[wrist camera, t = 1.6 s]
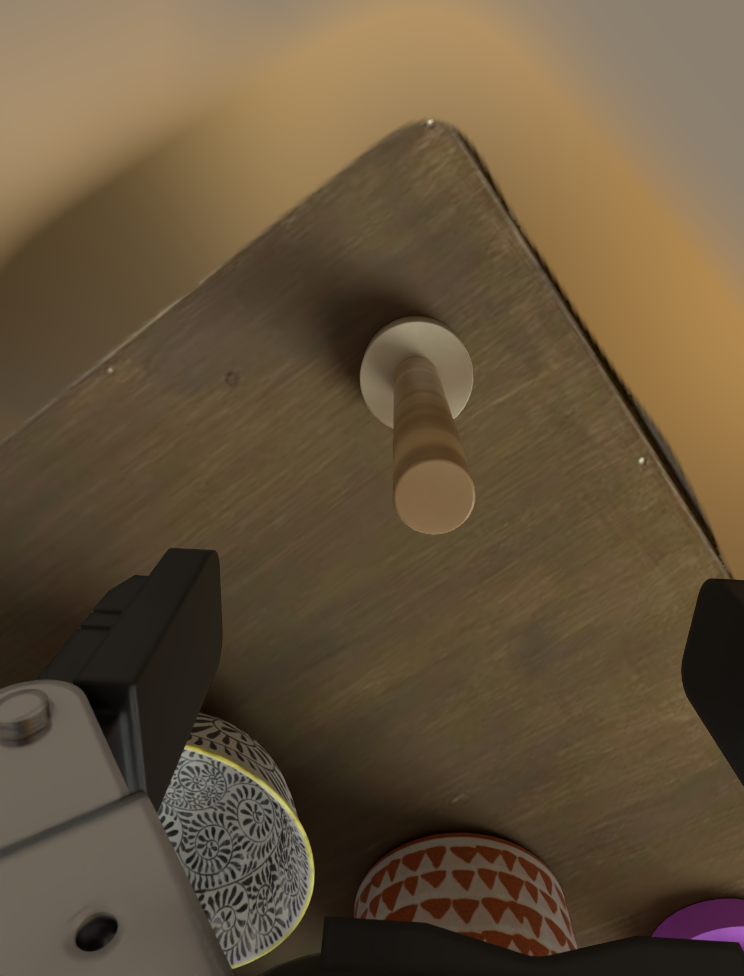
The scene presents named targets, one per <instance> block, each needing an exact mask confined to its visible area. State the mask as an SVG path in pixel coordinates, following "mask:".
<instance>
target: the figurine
mask: <svg viewBox="0 0 744 976" xmlns="http://www.w3.org/2000/svg"><path fill="white" fill-rule="evenodd" d="M651 937H663V938H678V939H694V940H710V941H726V942H739V943H740V945H741V947H742V950H743V952H744V900H743V899H715V900H709V901H704V902H700V903H697V904H694V905H691V906H688V907H686V908H684V909H682V910H680V911H677V912H676V913H674V914H673V915H671V916H670V917H668V918H667V919H666V920H665V921H664V922H663V923H662V924H660V925H659V926H658V927H657V929H656V930H655V932H654V933H653V935H652V936H651Z"/></svg>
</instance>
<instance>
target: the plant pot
mask: <svg viewBox="0 0 744 976" xmlns="http://www.w3.org/2000/svg"><path fill="white" fill-rule="evenodd" d="M354 918H361V919H377V920H393V921H409V922H425V923H429V924H432V925H435V926H438V927H441V928H444V929H448V930H451V931H454V932H457V933H460V934H463V935H466V936H469V937H473V938H476V939H479V940H482V941H485V942H488V943H491V944H494V945H498V946H501V947H504V948H507V949H510V950H513V951H516V952H519V953H523V954H526V955H530V956H548V955H552V954H557V953H561V952H566V951H570V950H575V949H578V948H577V944H576V940H575V936H574V933H573V929H572V925H571V921H570V917H569V913H568V909H567V905H566V901H565V898H564V894H563V891H562V889H561V886H560V884H559V882H558V880H557V879H556V877H555V876H554V874H553V873H552V872H551V870H550V869H549V868H548V867H547V866H546V865H545V864H544V863H543V862H542V861H541V860H540V859H539V858H537V857H536V856H535V855H534V854H532V853H531V852H529V851H527V850H526V849H524V848H522V847H520V846H518V845H516V844H514V843H512V842H509V841H507V840H504V839H501V838H497V837H493V836H489V835H483V834H476V833H443V834H436V835H431V836H426V837H422V838H419V839H416V840H413V841H410V842H408V843H406V844H403V845H401V846H399V847H397V848H396V849H394V850H392V851H391V852H389V853H388V854H386V855H385V856H383V857H382V858H381V859H380V860H379V861H378V862H376V863H375V864H374V865H373V867H372V868H371V869H370V870H369V871H368V873H367V874H366V875H365V877H364V879H363V880H362V882H361V884H360V886H359V889H358V892H357V895H356V900H355V907H354Z"/></svg>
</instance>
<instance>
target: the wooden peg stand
mask: <svg viewBox="0 0 744 976" xmlns="http://www.w3.org/2000/svg"><path fill="white" fill-rule="evenodd" d="M472 386H473V366H472V362H471V359H470V356H469V354H468V352H467V350H466V348H465V346H464V345H463V343H462V341H461V340H460V338H459V337H458V336H457V334H456V333H455V332H454V331H453V330H452V329H450V328H449V327H448V326H447V325H445V324H443V323H442V322H440V321H438V320H435V319H433V318H429V317H423V316H409V317H403V318H400V319H397V320H395V321H392V322H390V323H389V324H387V325H386V326H384V327H383V328H382V329H380V330H379V331H378V332H377V333H376V334H375V335H374V337H373V338H372V339H371V341H370V342H369V344H368V346H367V348H366V351H365V353H364V357H363V361H362V365H361V369H360V387H361V392H362V395H363V398H364V401H365V403H366V405H367V406H368V408H369V410H370V411H371V412H372V414H373V415H374V416H375V417H376V418H377V419H378V420H379V421H381V422H382V423H383V424H385V425H386V426H388V427H390V428H392V429H393V503H394V507H395V510H396V512H397V514H398V516H399V517H400V519H401V520H402V521H403V522H404V523H405V524H406V525H407V526H409V527H410V528H412V529H414V530H416V531H418V532H421V533H425V534H443V533H447V532H449V531H452V530H454V529H456V528H457V527H459V526H460V525H461V524H462V523H464V522H465V521H466V519H467V518H468V517H469V515H470V514H471V512H472V510H473V508H474V505H475V499H476V492H475V486H474V483H473V479H472V476H471V473H470V470H469V467H468V464H467V461H466V457H465V454H464V451H463V448H462V445H461V442H460V439H459V436H458V432H457V429H456V426H455V423H454V420H453V419H455V418H456V417H457V416H458V415H459V413H460V412H461V411H462V410H463V408H464V407H465V405H466V403H467V401H468V399H469V397H470V394H471V391H472Z"/></svg>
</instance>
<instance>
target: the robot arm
mask: <svg viewBox="0 0 744 976" xmlns="http://www.w3.org/2000/svg"><path fill="white" fill-rule="evenodd" d="M221 648H222V610H221V587H220V565H219V558H218V554H217V552H216V551H215V550H200V549H182V548H170V549H168V551H167V552H166V553H165V554H164V556H163V557H162V559H161V560H160V561H159V563H158V564H157V565H156V567H155V568H154V569H153V571H152V572H151V574H150V575H149V576H139V575H134V576H133V577H131V578H129V579H128V580H126V581H124V582H123V583H121V584H119V585H118V586H116V587H114V588H112V589H111V590H109V591H108V592H107V594H106V595H105V596H104V597H103V599H102V600H101V601H100V602H99V604H98V605H97V606H96V607H95V608H94V612H93V613H90V615H89V616H88V617H87V618H86V619H85V621H84V622H83V623H82V624H81V629H77V631H76V632H75V633H74V634H73V635H72V637H71V638H70V639H69V640H68V642H67V643H66V644H65V645H64V646H63V648H62V649H61V650H60V651H59V653H58V654H57V655H56V656H55V658H54V659H53V660H52V661H51V662H50V664H49V665H48V666H47V667H46V669H45V670H44V671H43V672H42V673H41V675H40V676H39V677H38V678H37V680H33V681H27V682H22V683H18V684H14V685H11V686H8V687H5V688H2V689H0V976H235V974H234V972H233V970H232V968H231V966H230V964H229V962H228V960H227V958H226V956H225V954H224V952H223V949H222V947H221V945H220V943H219V941H218V939H217V937H216V935H215V933H214V931H213V929H212V927H211V925H210V923H209V920H208V918H207V916H206V914H205V912H204V910H203V908H202V906H201V904H200V902H199V900H198V898H197V896H196V894H195V891H194V889H193V887H192V885H191V883H190V881H189V879H188V877H187V875H186V873H185V871H184V869H183V867H182V865H181V862H180V860H179V858H178V856H177V854H176V852H175V850H174V848H173V846H172V844H171V842H170V840H169V838H168V835H167V833H166V831H165V829H164V827H163V825H162V823H161V821H160V819H159V817H158V815H157V813H158V811H159V808H160V806H161V803H162V801H163V799H164V796H165V794H166V791H167V789H168V787H169V784H170V782H171V779H172V777H173V774H174V772H175V770H176V767H177V765H178V762H179V760H180V758H181V755H182V753H183V750H184V748H185V745H186V743H187V741H188V738H189V736H190V733H191V731H192V729H193V726H194V724H195V721H196V719H197V717H198V714H199V712H200V709H201V707H202V704H203V702H204V700H205V697H206V695H207V692H208V690H209V688H210V685H211V683H212V680H213V678H214V675H215V673H216V671H217V668H218V664H219V660H220V655H221ZM681 672H682V682H683V687H684V690H685V693H686V696H687V698H688V699H689V701H690V703H691V704H692V706H693V707H694V709H695V711H696V712H697V714H698V715H699V717H700V718H701V720H702V722H703V723H704V725H705V726H706V728H707V729H708V731H709V733H710V734H711V736H712V737H713V739H714V740H715V742H716V744H717V745H718V747H719V748H720V750H721V751H722V753H723V755H724V756H725V758H726V759H727V761H728V762H729V764H730V766H731V767H732V769H733V770H734V772H735V773H736V775H737V777H738V778H739V780H740V781H741V783H742V784H743V786H744V580H730V579H708V580H706V581H705V582H704V584H703V585H702V587H701V589H700V592H699V595H698V599H697V603H696V607H695V611H694V615H693V619H692V623H691V627H690V631H689V635H688V639H687V643H686V647H685V651H684V655H683V659H682V669H681ZM257 976H744V952H743V950H742V947H741V945H740V943H739V942H726V941H710V940H694V939H678V938H663V937H647V936H634V937H629V938H625V939H620V940H616V941H611V942H607V943H602V944H597V945H593V946H588V947H584V948H579V949H575V950H570V951H566V952H561V953H557V954H552V955H548V956H530V955H526V954H523V953H519V952H516V951H513V950H510V949H507V948H504V947H501V946H498V945H494V944H491V943H488V942H485V941H482V940H479V939H476V938H473V937H469V936H466V935H463V934H460V933H457V932H454V931H451V930H448V929H444V928H441V927H438V926H435V925H432V924H429V923H425V922H409V921H393V920H377V919H361V918H345V917H330V916H325V920H324V929H323V939H322V949H321V953H316V954H312V955H307V956H303V957H300V958H297V959H294V960H291V961H288V962H286V963H283V964H280V965H277V966H275V967H273V968H271V969H269V970H267V971H265V972H263V973H261V974H259V975H257Z"/></svg>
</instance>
